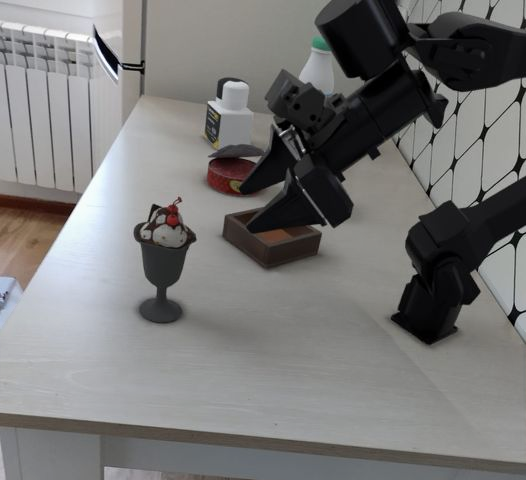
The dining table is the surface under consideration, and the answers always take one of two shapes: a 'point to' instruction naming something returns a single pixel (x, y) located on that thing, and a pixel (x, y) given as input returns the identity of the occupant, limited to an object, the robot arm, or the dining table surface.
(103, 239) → the dining table surface
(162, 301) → the sundae
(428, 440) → the dining table surface
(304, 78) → the milk bottle
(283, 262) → the brown wooden square box
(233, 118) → the medicine bottle
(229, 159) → the canned food
